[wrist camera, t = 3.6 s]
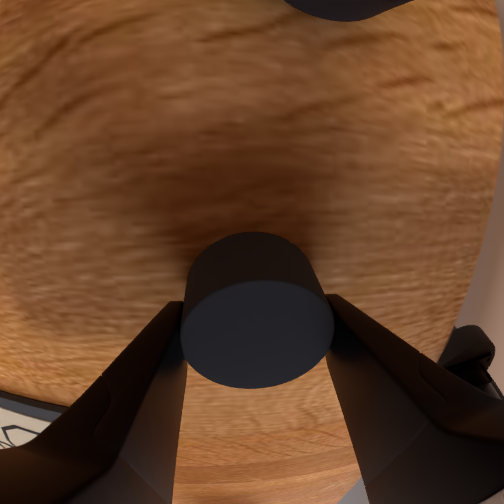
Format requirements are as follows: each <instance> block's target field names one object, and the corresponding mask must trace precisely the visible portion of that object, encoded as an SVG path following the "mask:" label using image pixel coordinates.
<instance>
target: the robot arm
mask: <svg viewBox="0 0 504 504" xmlns="http://www.w3.org/2000/svg"><path fill="white" fill-rule="evenodd" d="M325 296H326V299H327V301H328V303H329V305H330V307H331V310H332V312H333V315H334V319H335V330H334V335H333V339H332V343H331V346H330V348H329V350H328V351H327V353H326V354H325V356H326V361H327V366H328V369H329V372H330V375H331V378H332V381H333V384H334V388H335V391H336V394H337V397H338V400H339V403H340V406H341V409H342V412H343V415H344V419H345V422H346V425H347V428H348V431H349V435H350V438H351V441H352V444H353V448H354V451H355V454H356V458H357V461H358V464H359V468H360V471H361V475H362V478H363V481H364V485H365V486H366V487H365V489H366V492H367V496H368V499H369V503H370V504H504V396H503V395H502V393H501V391H500V389H499V388H498V386H497V385H496V383H495V382H494V380H493V379H492V377H491V376H490V374H489V373H488V371H487V370H486V366H487V365H488V363H489V362H490V360H491V359H492V357H493V355H492V354H491V352H489V353H486V354H483V355H481V356H478V357H476V358H473V359H470V360H467V361H465V362H462V363H459V364H456V365H453V366H450V367H447V368H445V369H444V368H443V367H441V366H440V365H438V364H437V363H435V362H434V361H432V360H431V359H429V358H428V357H427V356H425V355H424V354H422V353H420V352H419V351H418V350H417V349H415V348H414V347H412V346H411V345H409V344H408V343H407V342H405V341H404V340H402V339H401V338H399V337H398V336H397V335H395V334H394V333H392V332H391V331H389V330H388V329H387V328H385V327H384V326H382V325H381V324H379V323H378V322H377V321H375V320H374V319H372V318H371V317H369V316H368V315H367V314H365V313H364V312H362V311H361V310H359V309H358V308H356V307H355V306H354V305H352V304H351V303H349V302H348V301H346V300H345V299H343V298H342V297H340V296H339V295H337V294H325ZM183 304H184V302H183V301H170V302H169V303H168V304H167V305H166V306H165V307H164V308H163V309H162V310H161V311H160V312H159V313H158V314H157V315H156V316H155V317H154V318H153V319H152V320H151V321H150V322H149V324H148V325H147V326H146V327H145V328H144V329H143V330H142V331H141V332H140V333H139V334H138V335H137V336H136V337H135V338H134V340H133V341H132V342H131V343H130V344H129V345H128V346H127V347H126V348H125V349H124V350H123V351H122V352H121V353H120V355H119V356H118V357H117V358H116V359H115V360H114V361H113V362H112V363H111V364H110V365H109V367H108V368H107V369H106V370H105V371H104V372H103V373H102V376H99V377H98V378H97V380H96V381H95V382H94V383H93V384H92V385H91V386H90V387H89V388H88V389H87V390H86V391H85V392H84V393H83V394H82V395H81V396H80V397H79V398H78V399H77V400H76V401H75V402H74V403H73V404H72V405H71V406H70V407H69V408H68V409H67V410H65V411H64V412H63V413H62V414H61V415H60V416H59V417H58V418H56V419H55V420H54V421H53V422H52V423H51V424H50V425H49V426H47V427H46V428H45V429H44V430H43V431H42V432H41V433H40V434H38V435H37V436H36V437H35V438H33V439H32V440H30V441H29V442H27V443H25V444H22V445H19V446H16V447H10V448H4V449H0V504H172V496H173V486H174V476H175V466H176V457H177V448H178V439H179V431H180V423H181V416H182V408H183V401H184V393H185V386H186V378H187V360H186V359H185V357H184V354H183V350H182V345H181V340H180V333H179V330H180V323H181V316H182V310H183Z"/></svg>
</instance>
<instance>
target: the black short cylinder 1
mask: <svg viewBox="0 0 504 504" xmlns="http://www.w3.org/2000/svg"><path fill="white" fill-rule="evenodd" d="M334 330H335V319H334V315H333V312H332V310H331V307H330V305H329V303H328V301H327V299H326V296H325V294H324V292H323V290H322V288H321V286H320V283H319V281H318V279H317V277H316V275H315V273H314V271H313V269H312V267H311V264H310V262H309V260H308V259H307V257H306V256H305V254H304V253H303V252H302V251H301V250H300V249H299V248H298V247H297V246H295V245H294V244H293V243H291V242H289V241H288V240H286V239H284V238H281V237H279V236H276V235H272V234H268V233H261V232H248V233H240V234H235V235H232V236H229V237H226V238H223V239H221V240H219V241H217V242H215V243H214V244H212V245H211V246H209V247H208V248H207V249H206V250H205V251H203V252H202V253H201V254H200V256H199V257H198V258H197V259H196V261H195V262H194V264H193V265H192V268H191V270H190V272H189V276H188V279H187V285H186V291H185V297H184V304H183V310H182V316H181V323H180V330H179V333H180V340H181V345H182V350H183V354H184V357H185V359H186V360H187V362H188V363H189V364H190V366H191V367H192V368H193V369H194V370H195V371H197V372H198V373H199V374H201V375H202V376H204V377H205V378H207V379H209V380H211V381H213V382H216V383H219V384H222V385H225V386H229V387H235V388H245V389H256V388H266V387H271V386H276V385H280V384H283V383H286V382H289V381H291V380H293V379H296V378H298V377H300V376H301V375H303V374H305V373H306V372H308V371H309V370H310V369H312V368H313V367H314V366H315V365H316V364H318V363H319V362H320V360H321V359H322V358H323V357H324V356H325V354H326V353H327V351H328V350H329V348H330V346H331V343H332V339H333V335H334Z"/></svg>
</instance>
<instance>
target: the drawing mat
mask: <svg viewBox="0 0 504 504" xmlns="http://www.w3.org/2000/svg"><path fill="white" fill-rule="evenodd" d="M67 409H68V408H67V407H62V406H57V405H53V404H48V403H44V402H39V401H35V400H31V399H27V398H24V397H20V396H16V395H13V394H9V393H6V392H3V391H0V449H4V448H10V447H16V446H19V445H22V444H25V443H27V442H29V441H30V440H32V439H33V438H35V437H36V436H37V435H38V434H40V433H41V432H42V431H43V430H44V429H45V428H46V427H47V426H49V425H50V424H51V423H52V422H53V421H54V420H55V419H56V418H58V417H59V416H60V415H61V414H62V413H63V412H64V411H65V410H67Z"/></svg>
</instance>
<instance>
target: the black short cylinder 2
mask: <svg viewBox="0 0 504 504" xmlns="http://www.w3.org/2000/svg"><path fill="white" fill-rule="evenodd" d="M284 1H285V2H287V3H288V4H290V5H292V6H293V7H295V8H297V9H299V10H301V11H303V12H305V13H308V14H310V15H313V16H316V17H319V18H323V19H328V20H333V21H345V22H351V21H360V20H364V19H368V18H370V17H373V16H375V15H378V14H380V13H382V12H385V11H387V10H389V9H392V8H394V7H397V6H400V5H402V4H405V3H407V2H410V1H413V0H284Z"/></svg>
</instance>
